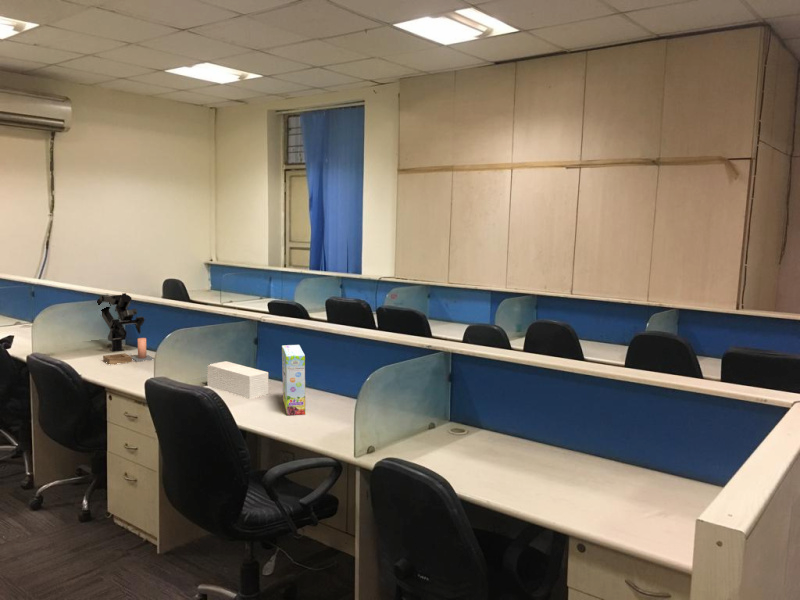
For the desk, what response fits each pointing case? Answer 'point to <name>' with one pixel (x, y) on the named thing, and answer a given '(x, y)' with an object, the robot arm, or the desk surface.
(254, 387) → the stack of papers
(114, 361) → the walnut pocket block
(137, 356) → the rubber mat
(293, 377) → the snack box
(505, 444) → the desk surface
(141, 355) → the terracotta peg
